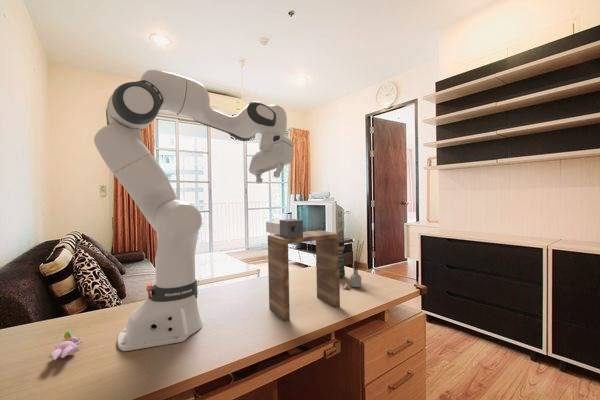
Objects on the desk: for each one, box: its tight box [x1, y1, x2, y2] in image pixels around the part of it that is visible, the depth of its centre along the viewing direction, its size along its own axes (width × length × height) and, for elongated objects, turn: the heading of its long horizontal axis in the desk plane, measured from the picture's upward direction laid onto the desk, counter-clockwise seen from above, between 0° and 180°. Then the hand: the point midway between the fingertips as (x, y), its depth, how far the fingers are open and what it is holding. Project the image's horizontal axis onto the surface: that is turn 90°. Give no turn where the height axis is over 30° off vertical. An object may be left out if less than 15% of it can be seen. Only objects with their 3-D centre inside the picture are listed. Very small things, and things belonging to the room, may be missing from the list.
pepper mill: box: [265, 218, 304, 239], centre depth 101 cm, size 6×21×6 cm, turn 29°
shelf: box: [267, 229, 341, 322], centre depth 101 cm, size 22×12×26 cm, turn 119°
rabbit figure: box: [50, 330, 84, 361], centre depth 74 cm, size 6×6×15 cm
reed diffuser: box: [343, 239, 365, 289], centre depth 121 cm, size 10×7×20 cm
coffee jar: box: [339, 237, 346, 279], centre depth 138 cm, size 10×8×19 cm
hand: (267, 180), depth 101 cm, fingers open, 8 cm apart
